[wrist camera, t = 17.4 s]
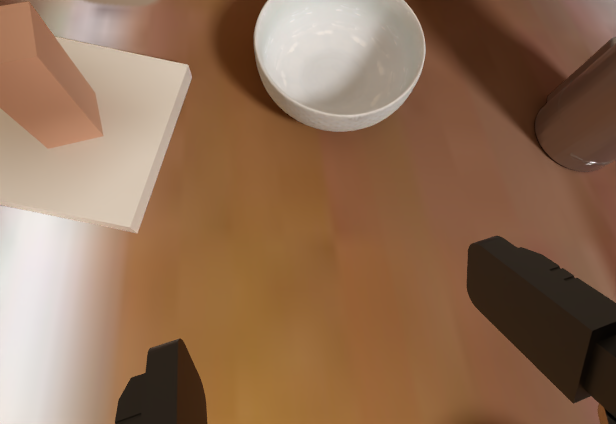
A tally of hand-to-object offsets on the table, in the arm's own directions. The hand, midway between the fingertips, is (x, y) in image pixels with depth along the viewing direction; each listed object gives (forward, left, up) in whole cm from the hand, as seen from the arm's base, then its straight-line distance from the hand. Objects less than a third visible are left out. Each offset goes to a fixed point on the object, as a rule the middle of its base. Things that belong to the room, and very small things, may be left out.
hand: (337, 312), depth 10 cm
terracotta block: (-15, -25, -24) cm, 38 cm away
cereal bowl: (-27, -1, -26) cm, 38 cm away
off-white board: (-15, -25, -26) cm, 39 cm away
